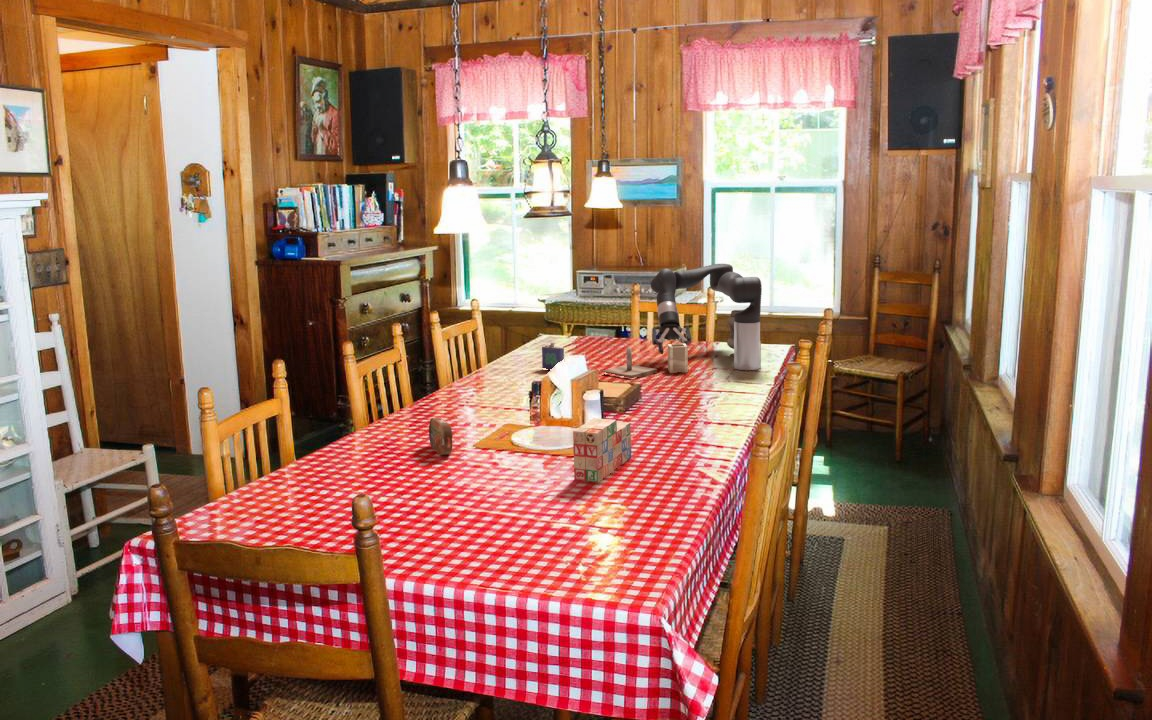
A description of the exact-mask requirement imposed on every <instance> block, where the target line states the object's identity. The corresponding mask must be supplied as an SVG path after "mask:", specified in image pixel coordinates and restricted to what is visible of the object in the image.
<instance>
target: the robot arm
mask: <svg viewBox="0 0 1152 720" xmlns="http://www.w3.org/2000/svg"><path fill="white" fill-rule="evenodd" d="M707 276H709V287H710V289H711V290H713V291H715V292H719V293H721V294H724V295H725V296H727V297H729V298H730V299H731V301H732V302H733V303H737V304H748V303H749V305H748V306H747V307H746V308H745V309H741V310H742V311H740V312H738V313H736V314H735V316H734V349H733V353H734V358H733V368H734V369H736V370H740V371H756V370H759V369H760V367H762V363H761V362H762V341H761V308H762V307H761V305H762V302H761V301H762V289H763V288H762V281H761V278H759V277H758V276H745V277H743V275H741V274H739V273H738V272H734V268H733V265H731V264H729V263H728V264H727V263H713V264H710V265H704V266H701V267H697V268H694V269H693V268H692V269H685V270H676V271H673V270H672V269H670V268H667V267H666V268H662V269H661V270H659V271H658V272H657V274H655V276H654V277H653V278H652V279H651V282H650V288H651V290H652V291H653V293H656V294H657V295H656V307H657V317H658V325H659V329H658V328H657V329H656V328H655V327H653V328H652V329H651V340H652V341H651V343H652V345H653V346H656V345H657V348H658V353H659V354H661V355H664V347H663V343H664V342H665V341H666V340H667V341H672V340H673V341H676V340H677V341H678V342H680V344H686V345H687V346H688V347H689V345H688V344H690V343H692V335H691V330H690V327H689V326H687V325H686V326H685V327H682V326H681V323H680V322H681V321H680V319H679V318H680V317H679V316H680V315H679V311H678V308H677V307H678V306H677V301H676V291H677V290H682V289H691V288H694V287H695V286H697V285H699V283H701V282H702V281H703V280H704V279H705V278H706V277H707ZM658 335H660V337H659V338H658V339H657V336H658ZM684 335H685V336H684Z"/></svg>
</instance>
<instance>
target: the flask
mask: <svg viewBox="0 0 1152 720" xmlns="http://www.w3.org/2000/svg"><path fill="white" fill-rule="evenodd" d="M555 344H556V342H554V341H553V342H552V341H551V342H549V344H546V345H542V346H541V359H542V360H541V361H542V363H541V365H542V366H541V367H542V368H546V369H548V370H550V369H552V368H553V367H554V366H555V365H556V364H557V363H558V362H560V361H562V360H563V359H564V360H565V348H564V347H563V346H555ZM542 368H541V369H542Z"/></svg>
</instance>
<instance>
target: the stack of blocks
mask: <svg viewBox="0 0 1152 720" xmlns="http://www.w3.org/2000/svg"><path fill="white" fill-rule="evenodd" d="M572 436H573V437H572V441H573V443H572V445H573V446H572V447H573V451H572V452H573V467H574V468H573V475H574V478H573V479H574V481H580V480H581V482H590V481H591V482H592V483H597V482H598V483H599V482H601V481H602V480H604V479H606V476H607V477H608V476H609V475H611V474H612V473H614V471H616V470H617V469H618V468H619V467H620V466H622V465H624V464H625V463H626V462H627V461H629V460H631V458H632V434H631V422H626V421H618V420H617V419H611V418H609V419H608V418H597V417H596V418H595V417H593V418H592V419H590V420H588V421H587V422H586V423H584V424H582V425H581V426H579V427H577V428H575V429H574V430H573V431H572ZM616 468H617V469H616ZM610 473H611V474H610ZM603 478H604V479H603ZM600 480H601V481H600ZM591 482H590V483H591Z"/></svg>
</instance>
